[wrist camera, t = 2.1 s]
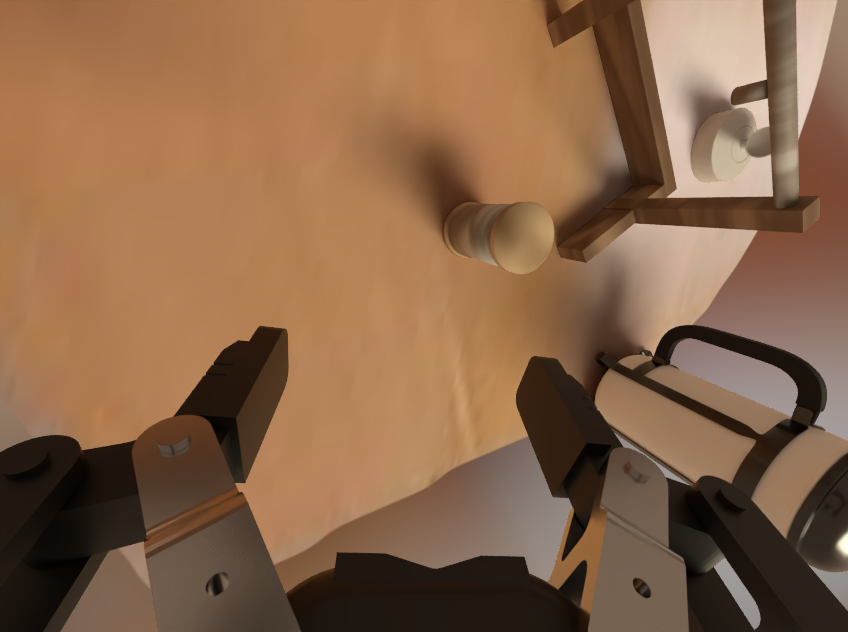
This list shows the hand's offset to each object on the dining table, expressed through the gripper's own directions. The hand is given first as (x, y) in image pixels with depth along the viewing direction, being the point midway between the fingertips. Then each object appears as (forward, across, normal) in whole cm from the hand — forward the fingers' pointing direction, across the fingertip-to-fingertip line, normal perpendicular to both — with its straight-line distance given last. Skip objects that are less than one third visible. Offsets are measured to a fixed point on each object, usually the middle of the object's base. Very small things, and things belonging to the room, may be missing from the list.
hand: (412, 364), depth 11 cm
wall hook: (+40, +40, +10) cm, 58 cm away
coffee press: (+30, +36, -22) cm, 52 cm away
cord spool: (+27, +7, -2) cm, 28 cm away
